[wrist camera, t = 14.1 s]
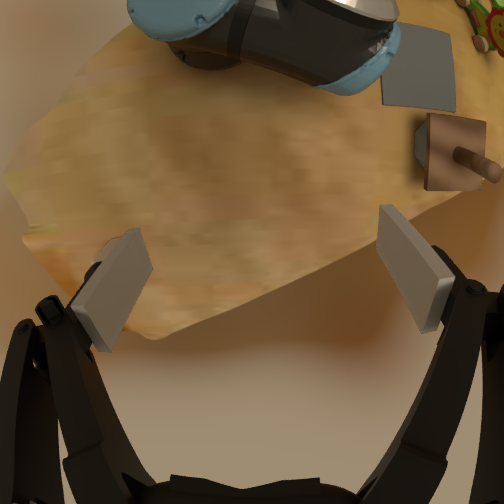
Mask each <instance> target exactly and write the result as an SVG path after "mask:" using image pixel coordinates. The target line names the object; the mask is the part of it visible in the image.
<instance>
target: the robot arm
mask: <svg viewBox="0 0 504 504" xmlns="http://www.w3.org/2000/svg"><path fill="white" fill-rule="evenodd" d="M127 10H128V13H129V16H130V18H131V19H132V22H133V23H134V24H135V25H136V26H137V27H138V28H139V29H140V30H142V31H143V32H144V33H145V34H147V35H148V36H149V37H150V38H154V39H155V40H159V41H164V42H166V43H168V44H169V46H170V48H171V50H172V52H173V53H174V54H175V55H176V56H177V57H178V58H179V59H180V60H181V61H183V62H184V63H186V64H188V65H190V66H192V67H195V68H198V69H203V70H223V69H227V68H230V67H233V66H236V65H238V64H240V63H241V62H243V61H245V62H248V63H252V64H255V65H258V66H261V67H264V68H267V69H270V70H273V71H276V72H278V73H281V74H284V75H287V76H289V77H292V78H294V79H297V80H300V81H302V82H305V83H307V84H308V85H309V86H311V87H315V88H320V89H324V90H326V91H329V92H332V93H334V94H337V95H341V96H350V95H354V94H357V93H359V92H361V91H363V90H365V89H366V88H367V87H369V86H370V85H371V84H372V83H374V82H375V81H376V80H377V79H378V78H379V77H380V76H381V75H382V74H383V72H384V71H385V70H386V69H387V67H388V66H389V64H390V62H389V61H390V58H391V57H393V56H394V55H395V54H396V52H397V50H398V47H399V44H400V40H401V32H400V28H399V26H398V25H397V24H396V22H395V21H396V20H397V18H398V16H399V9H398V6H397V3H396V1H395V0H127ZM376 250H377V252H378V254H379V256H380V257H381V259H382V261H383V262H384V264H385V266H386V268H387V269H388V271H389V273H390V275H391V276H392V278H393V280H394V282H395V284H396V285H397V287H398V289H399V291H400V293H401V295H402V296H403V298H404V300H405V302H406V304H407V306H408V307H409V310H410V312H411V314H412V316H413V318H414V320H415V322H416V324H417V326H418V328H419V330H420V332H421V334H423V333H427V332H432V331H436V330H437V328H438V325H439V323H440V320H441V321H442V323H443V325H444V329H443V331H442V334H441V336H440V338H439V341H438V343H437V348H436V351H435V354H434V356H433V359H432V361H431V364H430V366H429V369H428V371H427V374H426V376H425V378H424V381H423V383H422V385H421V387H420V389H419V392H418V394H417V396H416V398H415V400H414V402H413V404H412V406H411V408H410V410H409V412H408V414H407V416H406V418H405V420H404V422H403V424H402V426H401V428H400V429H399V431H398V433H397V435H396V436H395V438H394V440H393V442H392V443H391V445H390V447H389V448H388V450H387V452H386V453H385V455H384V457H383V458H382V459H381V461H380V463H379V464H378V466H377V467H376V469H375V470H374V471H373V473H372V474H371V475H370V477H369V478H368V479H367V480H366V482H365V483H364V484H363V486H362V487H361V488H360V490H359V491H358V492H357V494H354V493H352V492H350V491H348V490H346V489H344V488H341V487H338V486H334V485H329V484H322V483H320V478H309V479H298V480H281V481H277V482H273V483H269V484H265V485H261V486H257V487H252V488H247V489H238V488H234V487H231V486H227V485H224V484H220V483H217V482H214V481H211V480H208V479H204V478H195V477H186V476H178V475H172V474H171V476H170V481H166V482H161V483H156V482H155V481H154V479H153V478H152V477H151V476H150V475H149V474H148V473H147V472H146V470H145V469H144V467H143V466H142V464H141V462H140V460H139V458H138V457H137V455H136V453H135V451H134V449H133V447H132V446H131V444H130V442H129V440H128V438H127V436H126V434H125V431H124V429H123V427H122V425H121V423H120V421H119V419H118V417H117V414H116V412H115V410H114V408H113V406H112V403H111V401H110V399H109V396H108V393H107V391H106V388H105V386H104V383H103V381H102V378H101V375H100V373H99V370H98V367H97V364H96V362H95V359H94V356H93V353H92V352H91V350H90V349H89V348H90V346H91V344H92V343H93V344H94V346H95V347H96V349H97V350H98V351H99V352H110V353H111V352H112V350H113V348H114V346H115V344H116V342H117V339H118V337H119V335H120V333H121V331H122V329H123V327H124V325H125V323H126V321H127V319H128V317H129V315H130V313H131V311H132V309H133V307H134V305H135V303H136V301H137V299H138V297H139V295H140V293H141V291H142V289H143V287H144V285H145V283H146V281H147V280H148V278H149V276H150V274H151V272H152V270H153V267H152V264H151V261H150V258H149V255H148V252H147V249H146V246H145V243H144V240H143V237H142V234H141V230H140V228H137V229H130V230H128V231H127V232H126V233H125V234H124V236H123V237H122V238H121V239H120V240H119V242H118V243H117V244H116V245H115V247H114V248H113V249H112V250H111V251H110V253H109V254H108V255H107V257H106V258H105V259H104V260H103V262H102V263H101V264H100V266H99V267H98V268H97V269H96V271H95V272H94V273H93V275H92V276H91V277H89V278H88V279H87V280H86V281H85V282H84V283H83V284H82V286H81V287H80V289H79V290H78V291H77V292H76V295H74V297H73V298H72V299H71V301H70V302H69V304H68V305H67V307H66V308H65V309H64V307H63V305H62V303H61V302H60V300H59V298H58V296H56V295H51V296H48V297H46V298H44V299H43V300H42V301H40V302H39V303H38V305H37V306H36V308H35V311H36V314H37V315H38V317H39V318H40V320H41V322H42V323H43V325H40V326H36V325H35V324H34V322H33V320H32V319H25V320H22V321H20V322H19V323H18V325H17V326H16V327H15V329H14V331H13V334H12V338H11V341H10V345H9V348H8V351H7V355H6V359H5V363H4V367H3V371H2V376H1V381H0V504H65V502H64V493H63V485H62V477H61V468H60V457H59V443H58V442H59V440H58V419H59V423H60V427H61V431H62V434H63V438H64V442H65V445H66V448H67V451H68V457H67V458H64V459H63V462H62V463H63V468H64V472H65V474H66V477H67V480H68V483H69V485H70V488H71V491H72V494H73V496H74V499H75V501H76V503H77V504H429V502H430V500H431V498H432V496H433V495H434V493H435V491H436V489H437V487H438V485H439V483H440V481H441V479H442V477H443V475H444V473H445V471H446V468H447V464H448V461H447V460H446V455H447V452H448V450H449V448H450V445H451V443H452V440H453V438H454V436H455V433H456V430H457V428H458V425H459V422H460V420H461V417H462V414H463V411H464V408H465V405H466V402H467V398H468V395H469V392H470V388H471V385H472V381H473V377H474V373H475V369H476V365H477V361H478V356H479V351H480V346H481V351H482V372H483V399H482V421H481V433H480V442H479V450H478V457H477V464H476V469H475V475H474V480H473V485H472V489H471V495H470V500H469V504H504V284H503V286H502V287H501V290H500V292H499V293H497V292H488V291H487V289H486V287H485V286H484V285H483V284H482V283H480V282H478V281H476V280H472V279H467V278H466V277H465V276H464V274H463V273H462V272H461V271H460V269H459V268H458V267H457V266H456V265H455V264H454V263H453V261H452V260H451V259H450V258H449V256H448V255H447V254H446V253H445V252H444V251H443V250H441V249H440V248H438V247H437V246H435V245H434V246H430V245H429V244H428V243H427V241H426V240H425V239H424V238H423V237H422V236H421V235H420V233H419V232H418V231H417V230H416V229H415V228H414V227H413V226H412V225H411V224H410V222H409V221H408V220H407V219H406V218H405V217H404V216H403V215H402V214H401V213H400V212H399V211H398V210H397V209H396V208H395V207H394V206H393V204H389V205H380V208H379V222H378V234H377V245H376ZM33 362H34V363H35V365H36V367H34V365H33Z"/></svg>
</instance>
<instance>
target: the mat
mask: <svg viewBox="0 0 504 504" xmlns="http://www.w3.org/2000/svg"><path fill="white" fill-rule="evenodd" d="M396 24H397V25H398V26H399V28H400V32H401V40H400V44H399V47H398V50H397V52H396V54H395V55H394V56H393V57H391V58H390V61H389V62H390V64H389V66H388V67H387V69H386V70H385V71H384V72H383V74H382V75H381V88H382V104H383V105H395V106H408V107H419V108H428V109H437V110H444V111H451V112H456V90H455V74H454V63H453V54H452V46H451V39H450V34H449V33H445V32H441V31H438V30H434V29H430V28H425V27H421V26H416V25H411V24H406V23H401V22H396Z"/></svg>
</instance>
